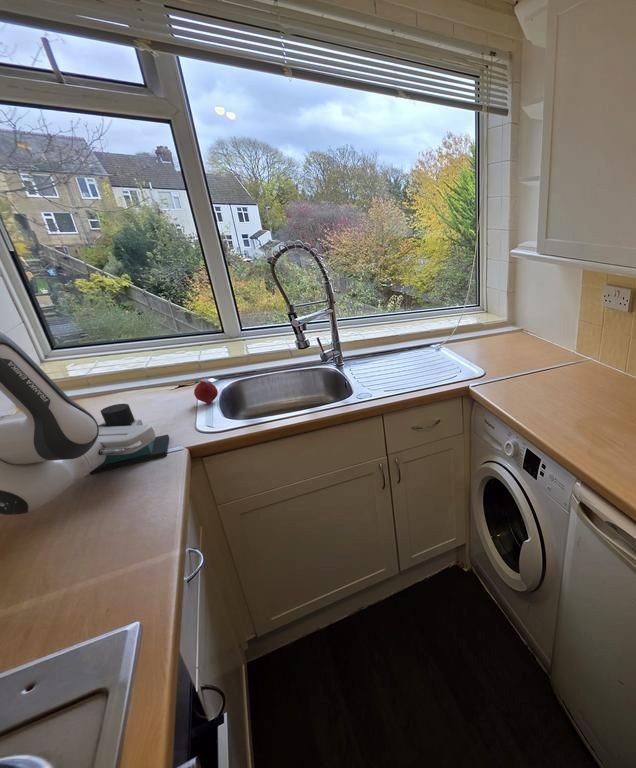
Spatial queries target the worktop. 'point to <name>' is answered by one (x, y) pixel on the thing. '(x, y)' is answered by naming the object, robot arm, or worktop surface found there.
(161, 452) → the base pad
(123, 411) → the pad post
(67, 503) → the worktop surface
